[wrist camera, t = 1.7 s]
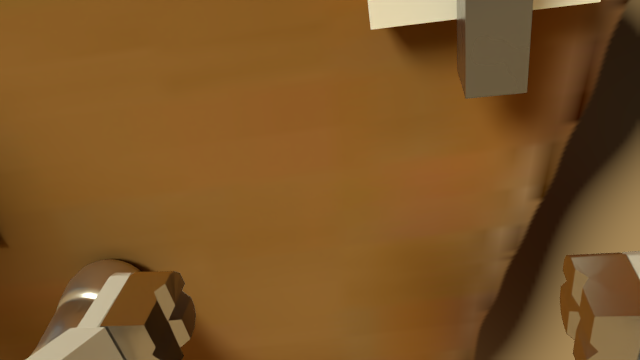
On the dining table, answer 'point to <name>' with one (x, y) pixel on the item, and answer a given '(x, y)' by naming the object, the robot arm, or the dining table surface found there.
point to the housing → (433, 10)
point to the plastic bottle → (81, 296)
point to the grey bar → (493, 46)
